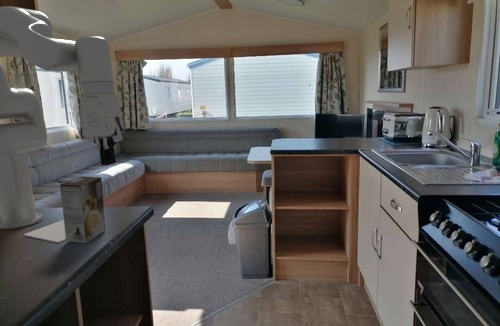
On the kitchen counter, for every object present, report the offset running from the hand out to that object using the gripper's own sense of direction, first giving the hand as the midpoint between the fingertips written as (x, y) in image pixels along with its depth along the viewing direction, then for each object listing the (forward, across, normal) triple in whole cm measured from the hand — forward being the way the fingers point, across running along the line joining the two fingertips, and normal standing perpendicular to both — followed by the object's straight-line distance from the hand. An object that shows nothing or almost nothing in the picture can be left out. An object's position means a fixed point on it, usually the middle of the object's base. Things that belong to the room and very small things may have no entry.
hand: (108, 164), depth 92 cm
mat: (+21, -24, +1) cm, 32 cm away
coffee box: (+21, -13, 0) cm, 25 cm away
